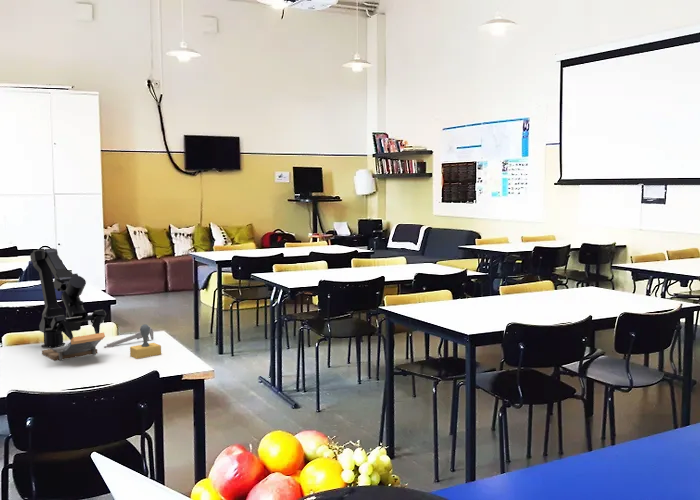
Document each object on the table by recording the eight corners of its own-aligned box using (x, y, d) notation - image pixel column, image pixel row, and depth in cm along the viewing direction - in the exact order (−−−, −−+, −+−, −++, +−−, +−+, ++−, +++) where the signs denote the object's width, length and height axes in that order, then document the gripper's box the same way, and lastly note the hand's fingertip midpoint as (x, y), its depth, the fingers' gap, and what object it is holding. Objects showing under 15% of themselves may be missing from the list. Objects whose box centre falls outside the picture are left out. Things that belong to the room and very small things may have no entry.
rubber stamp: (136, 359, 254) (135, 327, 253) (130, 356, 258) (128, 324, 257) (161, 354, 261) (160, 323, 259) (154, 351, 265) (153, 321, 264)
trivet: (42, 354, 261) (41, 345, 261) (84, 347, 272) (83, 338, 272) (56, 361, 250) (56, 352, 250) (99, 354, 261) (99, 345, 261)
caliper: (152, 340, 285) (151, 325, 284) (153, 340, 284) (153, 325, 283) (103, 348, 271) (103, 332, 271) (104, 348, 271) (104, 333, 270)
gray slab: (61, 352, 253) (72, 337, 243) (91, 347, 260) (103, 332, 250) (62, 356, 252) (74, 341, 242) (92, 351, 260) (105, 336, 250)
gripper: (92, 312, 267) (104, 346, 260) (42, 319, 254) (54, 355, 248) (100, 296, 260) (113, 330, 253) (49, 302, 247) (61, 338, 241)
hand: (85, 338), depth 249 cm, fingers open, 9 cm apart
